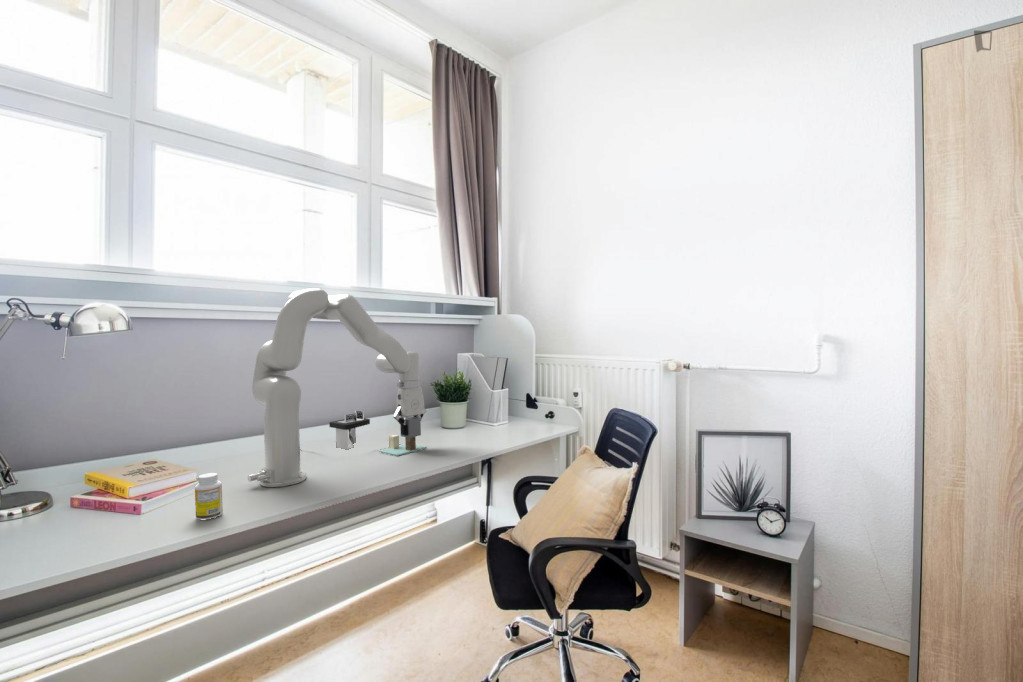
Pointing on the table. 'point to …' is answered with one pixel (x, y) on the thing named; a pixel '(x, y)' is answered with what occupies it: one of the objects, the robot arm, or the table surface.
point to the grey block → (413, 427)
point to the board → (401, 450)
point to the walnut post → (410, 443)
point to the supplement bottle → (208, 496)
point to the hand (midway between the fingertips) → (410, 433)
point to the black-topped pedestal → (348, 429)
